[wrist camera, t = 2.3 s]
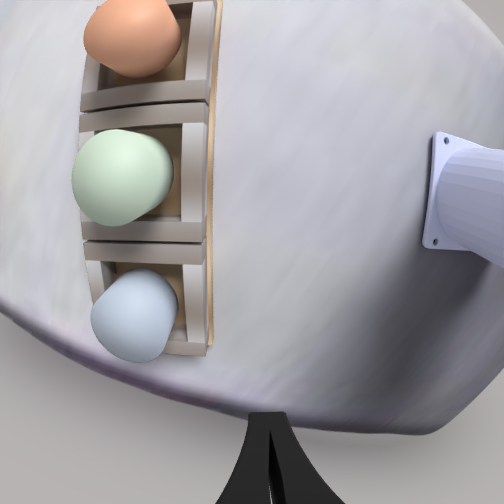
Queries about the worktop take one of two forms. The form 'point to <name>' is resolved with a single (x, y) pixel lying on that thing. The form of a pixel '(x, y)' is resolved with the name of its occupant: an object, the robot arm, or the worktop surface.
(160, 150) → the button sage
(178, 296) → the panel
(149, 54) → the button terracotta
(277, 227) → the worktop surface
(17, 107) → the worktop surface
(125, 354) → the button slate
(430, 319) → the worktop surface
